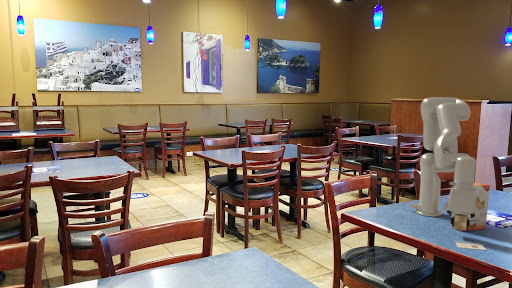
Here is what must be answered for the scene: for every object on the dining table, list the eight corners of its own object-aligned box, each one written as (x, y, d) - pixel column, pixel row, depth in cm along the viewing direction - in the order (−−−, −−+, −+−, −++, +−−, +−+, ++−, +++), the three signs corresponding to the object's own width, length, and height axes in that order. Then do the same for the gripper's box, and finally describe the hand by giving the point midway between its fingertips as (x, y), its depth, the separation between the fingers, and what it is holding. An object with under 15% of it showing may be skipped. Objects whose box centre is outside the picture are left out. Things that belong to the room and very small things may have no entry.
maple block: (453, 228, 165) (455, 215, 164) (453, 225, 169) (454, 212, 168) (465, 230, 163) (467, 216, 162) (464, 227, 167) (466, 213, 166)
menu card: (458, 247, 154) (458, 246, 154) (454, 241, 161) (454, 240, 161) (486, 250, 152) (486, 249, 152) (481, 244, 158) (481, 243, 158)
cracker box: (461, 232, 173) (465, 186, 170) (451, 227, 179) (454, 183, 176) (486, 229, 176) (490, 184, 174) (476, 225, 182) (479, 182, 180)
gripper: (441, 185, 163) (438, 226, 166) (487, 190, 157) (483, 232, 159) (441, 181, 170) (437, 221, 173) (485, 185, 163) (480, 226, 166)
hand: (459, 226), depth 166 cm, fingers closed on maple block, 4 cm apart
